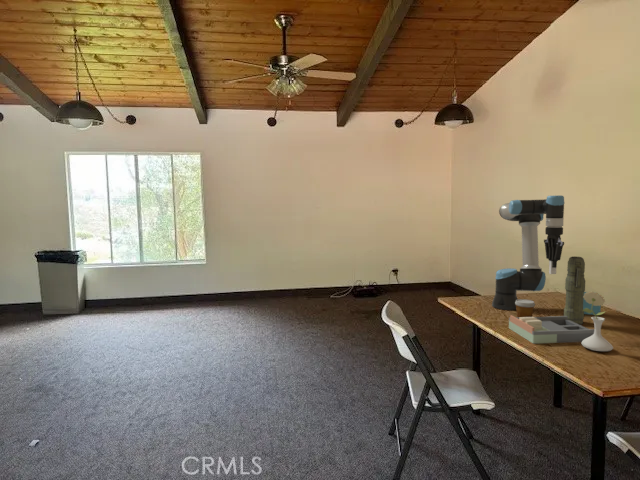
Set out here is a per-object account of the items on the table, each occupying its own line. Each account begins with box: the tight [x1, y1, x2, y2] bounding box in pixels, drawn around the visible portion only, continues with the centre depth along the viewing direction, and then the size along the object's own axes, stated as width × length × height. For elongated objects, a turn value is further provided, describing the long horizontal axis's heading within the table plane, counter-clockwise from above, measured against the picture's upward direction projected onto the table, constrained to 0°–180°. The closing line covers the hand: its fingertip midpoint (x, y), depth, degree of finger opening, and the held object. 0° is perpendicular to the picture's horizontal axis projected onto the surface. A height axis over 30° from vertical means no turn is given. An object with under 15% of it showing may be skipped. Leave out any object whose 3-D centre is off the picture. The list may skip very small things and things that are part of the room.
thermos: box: [563, 256, 586, 326], centre depth 208 cm, size 9×12×35 cm
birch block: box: [519, 316, 542, 330], centre depth 191 cm, size 7×7×4 cm
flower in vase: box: [580, 291, 614, 352], centre depth 172 cm, size 13×11×25 cm
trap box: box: [508, 314, 595, 344], centre depth 192 cm, size 22×30×7 cm
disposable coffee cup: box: [515, 298, 536, 317], centre depth 209 cm, size 10×10×12 cm
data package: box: [583, 291, 602, 316], centre depth 224 cm, size 12×4×12 cm, turn 69°
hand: (552, 273), depth 197 cm, fingers closed
